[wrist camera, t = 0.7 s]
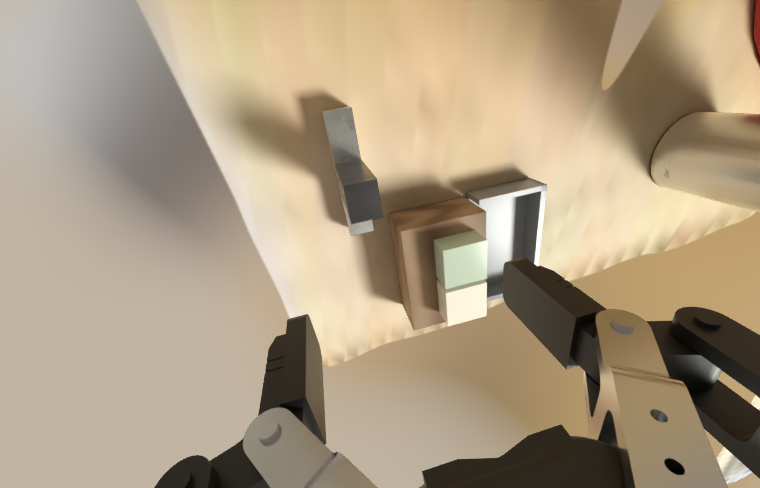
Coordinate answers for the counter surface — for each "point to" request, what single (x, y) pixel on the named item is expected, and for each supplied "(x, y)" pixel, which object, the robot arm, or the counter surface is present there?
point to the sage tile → (461, 259)
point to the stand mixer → (757, 25)
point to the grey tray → (510, 226)
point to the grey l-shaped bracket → (352, 172)
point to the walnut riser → (428, 252)
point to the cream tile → (462, 302)
